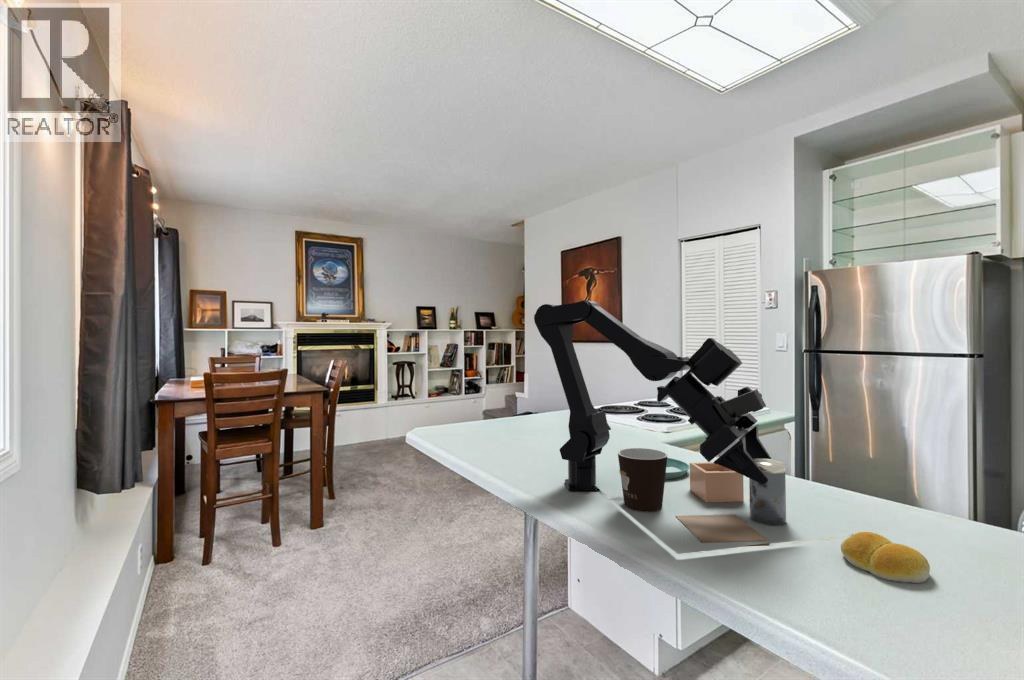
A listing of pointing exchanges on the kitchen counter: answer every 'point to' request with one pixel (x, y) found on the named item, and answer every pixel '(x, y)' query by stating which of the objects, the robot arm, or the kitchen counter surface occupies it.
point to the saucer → (676, 464)
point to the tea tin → (769, 494)
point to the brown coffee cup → (642, 478)
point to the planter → (716, 483)
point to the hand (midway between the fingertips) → (770, 475)
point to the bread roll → (885, 558)
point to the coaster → (721, 529)
